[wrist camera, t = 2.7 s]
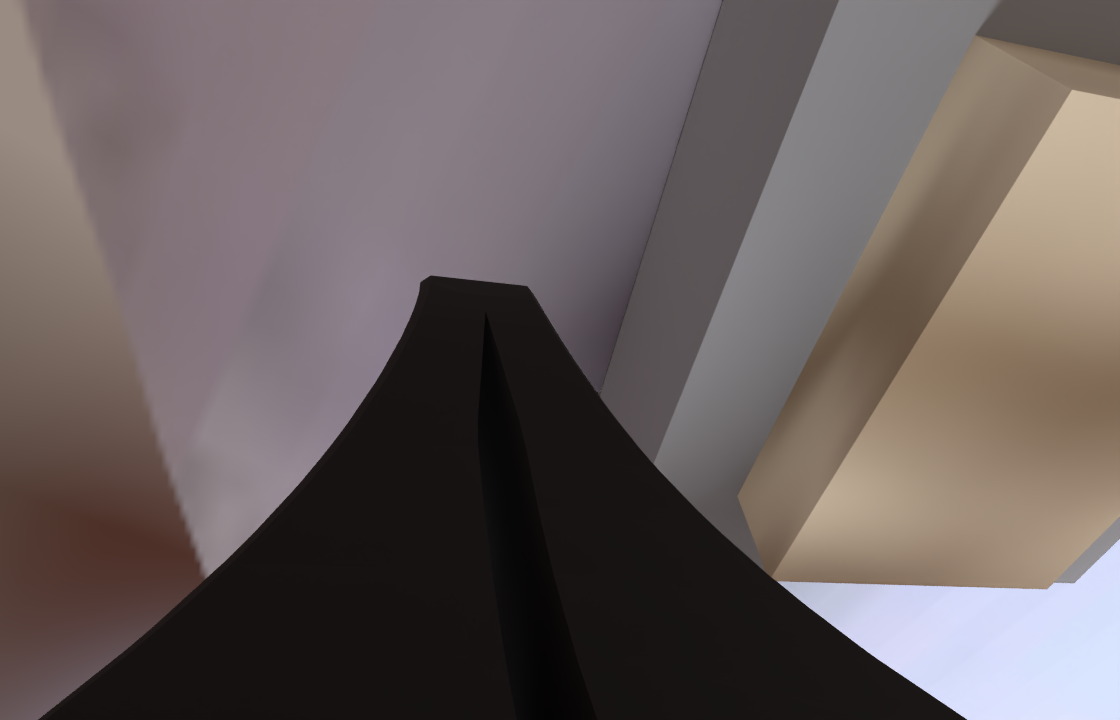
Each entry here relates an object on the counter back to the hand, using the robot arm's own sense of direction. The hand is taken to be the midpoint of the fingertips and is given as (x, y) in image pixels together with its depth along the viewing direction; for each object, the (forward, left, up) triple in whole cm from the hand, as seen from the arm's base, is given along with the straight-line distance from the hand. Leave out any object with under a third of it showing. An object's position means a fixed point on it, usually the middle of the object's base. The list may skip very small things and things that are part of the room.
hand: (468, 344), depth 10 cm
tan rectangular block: (0, -9, -2) cm, 9 cm away
